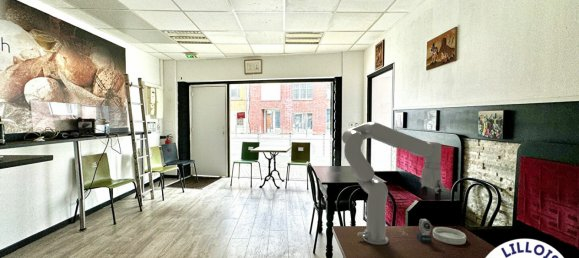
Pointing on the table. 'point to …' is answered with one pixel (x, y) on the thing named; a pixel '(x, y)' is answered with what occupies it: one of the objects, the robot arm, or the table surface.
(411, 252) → the table surface
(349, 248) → the table surface
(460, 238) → the dish
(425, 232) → the watch
